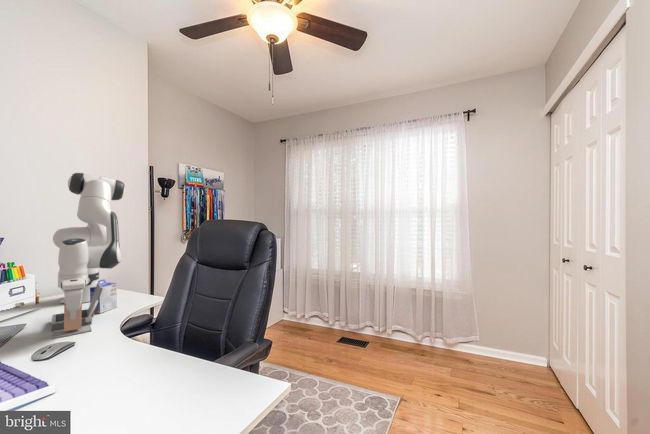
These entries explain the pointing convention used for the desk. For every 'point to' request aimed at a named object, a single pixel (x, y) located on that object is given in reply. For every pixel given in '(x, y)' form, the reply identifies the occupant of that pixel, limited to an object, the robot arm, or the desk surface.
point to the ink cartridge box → (105, 297)
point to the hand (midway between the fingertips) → (72, 316)
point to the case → (85, 313)
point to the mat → (71, 332)
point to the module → (72, 323)
